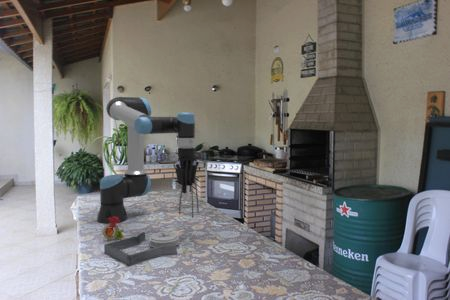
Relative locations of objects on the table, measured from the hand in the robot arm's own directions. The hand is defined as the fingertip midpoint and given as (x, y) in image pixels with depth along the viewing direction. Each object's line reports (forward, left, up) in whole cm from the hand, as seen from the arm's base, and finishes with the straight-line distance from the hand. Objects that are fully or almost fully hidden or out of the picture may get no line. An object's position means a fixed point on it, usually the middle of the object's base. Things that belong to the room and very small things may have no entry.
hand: (186, 199), depth 169 cm
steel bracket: (0, -25, -18) cm, 31 cm away
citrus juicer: (-31, +27, -18) cm, 45 cm away
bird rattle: (-21, -24, -18) cm, 37 cm away
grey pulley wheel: (0, -12, -18) cm, 22 cm away
